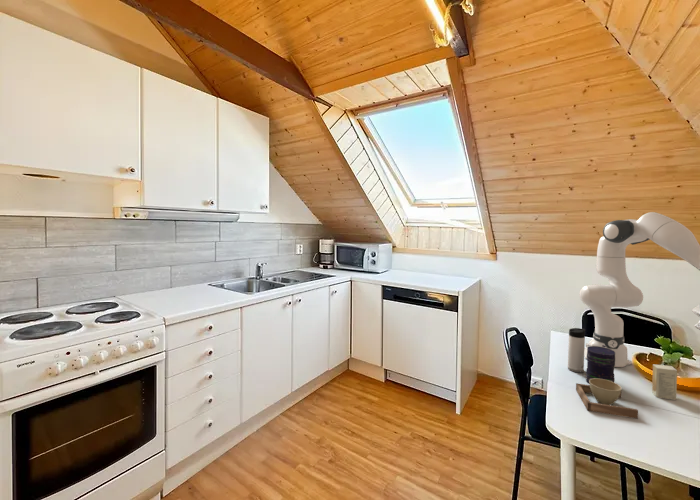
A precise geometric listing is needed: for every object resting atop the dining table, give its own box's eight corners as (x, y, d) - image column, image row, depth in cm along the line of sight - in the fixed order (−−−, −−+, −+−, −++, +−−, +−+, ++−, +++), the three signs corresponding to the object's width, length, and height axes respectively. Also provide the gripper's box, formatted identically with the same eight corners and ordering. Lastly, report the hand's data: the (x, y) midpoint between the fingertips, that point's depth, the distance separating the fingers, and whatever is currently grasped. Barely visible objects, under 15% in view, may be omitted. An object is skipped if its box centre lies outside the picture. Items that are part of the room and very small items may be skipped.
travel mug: (587, 373, 152) (588, 331, 150) (571, 372, 153) (572, 330, 151) (580, 367, 158) (581, 327, 156) (565, 366, 159) (566, 326, 158)
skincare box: (671, 395, 132) (673, 365, 131) (676, 400, 128) (678, 370, 127) (650, 392, 134) (652, 363, 133) (655, 397, 130) (656, 367, 129)
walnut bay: (575, 390, 137) (576, 383, 137) (620, 396, 131) (620, 389, 131) (587, 410, 122) (587, 402, 122) (637, 418, 117) (638, 410, 116)
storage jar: (582, 376, 148) (583, 338, 147) (608, 379, 145) (610, 340, 144) (590, 387, 139) (591, 346, 138) (618, 390, 136) (620, 348, 134)
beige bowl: (616, 412, 121) (617, 393, 120) (584, 400, 129) (585, 383, 128) (624, 402, 127) (624, 385, 126) (593, 392, 135) (594, 375, 134)
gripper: (709, 291, 123) (674, 314, 128) (751, 303, 104) (708, 330, 109) (724, 303, 122) (688, 326, 126) (769, 318, 103) (725, 345, 108)
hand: (698, 328), depth 118 cm, fingers closed
